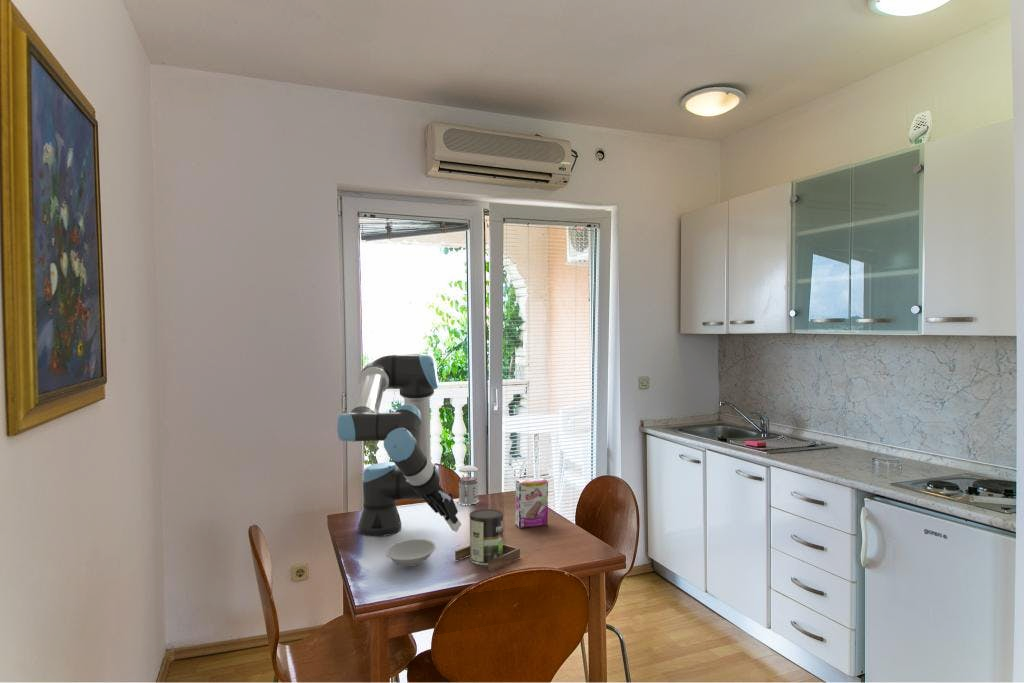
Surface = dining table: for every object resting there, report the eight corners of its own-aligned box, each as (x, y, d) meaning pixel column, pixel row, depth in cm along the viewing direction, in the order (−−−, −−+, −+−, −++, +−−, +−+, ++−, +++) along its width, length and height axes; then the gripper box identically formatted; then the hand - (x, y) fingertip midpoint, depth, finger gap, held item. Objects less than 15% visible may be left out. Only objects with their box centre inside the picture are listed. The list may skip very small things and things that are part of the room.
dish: (400, 553, 184) (400, 537, 184) (443, 556, 182) (443, 540, 182) (375, 574, 167) (375, 557, 167) (423, 579, 164) (423, 561, 164)
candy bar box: (519, 529, 208) (519, 483, 208) (515, 524, 213) (514, 479, 213) (548, 525, 211) (548, 480, 211) (543, 521, 216) (543, 477, 216)
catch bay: (455, 560, 178) (455, 550, 178) (486, 548, 188) (486, 538, 188) (489, 572, 169) (489, 561, 169) (519, 558, 180) (519, 548, 180)
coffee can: (506, 554, 183) (506, 509, 183) (499, 566, 173) (499, 519, 173) (474, 552, 185) (474, 507, 185) (465, 564, 175) (465, 517, 175)
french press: (483, 499, 247) (482, 440, 247) (475, 507, 235) (474, 445, 236) (460, 498, 249) (460, 439, 249) (452, 505, 238) (451, 444, 238)
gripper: (396, 481, 158) (433, 531, 171) (430, 492, 150) (466, 544, 163) (413, 460, 163) (448, 511, 175) (446, 470, 155) (480, 522, 167)
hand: (457, 527), depth 169 cm, fingers closed
